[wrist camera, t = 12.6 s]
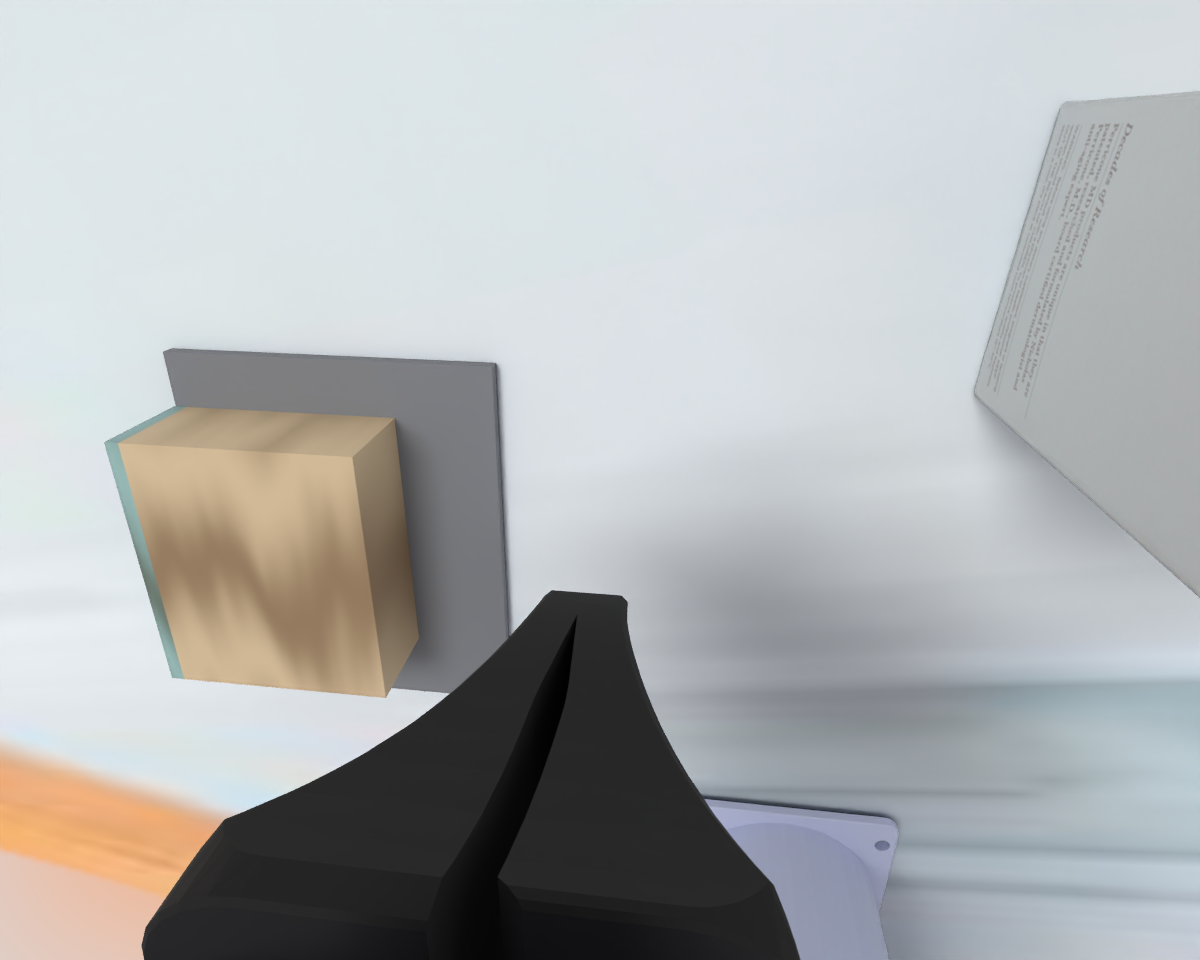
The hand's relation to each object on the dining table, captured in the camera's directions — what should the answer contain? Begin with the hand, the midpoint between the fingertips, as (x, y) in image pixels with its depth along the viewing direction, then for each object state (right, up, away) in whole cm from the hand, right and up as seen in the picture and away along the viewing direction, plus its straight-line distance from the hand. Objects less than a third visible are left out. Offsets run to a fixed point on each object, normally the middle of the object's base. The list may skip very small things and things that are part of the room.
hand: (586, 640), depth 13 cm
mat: (-8, +1, +12) cm, 14 cm away
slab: (-6, 0, +9) cm, 11 cm away
